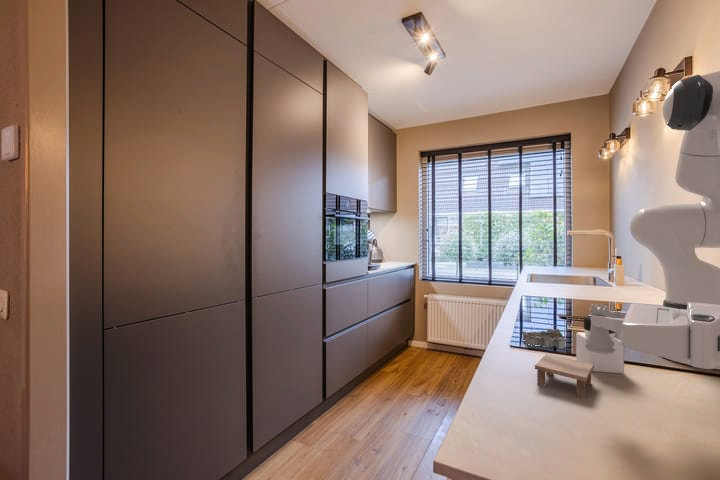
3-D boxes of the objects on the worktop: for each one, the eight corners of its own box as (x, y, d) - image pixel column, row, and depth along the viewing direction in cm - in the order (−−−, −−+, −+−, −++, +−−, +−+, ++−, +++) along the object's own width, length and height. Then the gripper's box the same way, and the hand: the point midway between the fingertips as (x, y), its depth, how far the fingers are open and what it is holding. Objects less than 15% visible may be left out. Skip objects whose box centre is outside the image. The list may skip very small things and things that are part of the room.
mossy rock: (560, 342, 98) (561, 328, 98) (568, 351, 91) (568, 336, 90) (521, 339, 101) (521, 325, 101) (525, 347, 94) (525, 332, 94)
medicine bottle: (624, 374, 75) (625, 320, 75) (589, 371, 76) (589, 319, 76) (607, 362, 82) (608, 313, 82) (575, 360, 83) (575, 312, 83)
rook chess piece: (621, 353, 58) (621, 307, 58) (601, 356, 57) (601, 309, 57) (597, 345, 62) (597, 302, 62) (578, 347, 61) (578, 304, 61)
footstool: (546, 371, 76) (546, 354, 76) (593, 383, 70) (593, 364, 70) (534, 384, 70) (534, 365, 70) (586, 398, 64) (586, 377, 64)
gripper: (698, 301, 58) (601, 292, 68) (710, 325, 43) (583, 310, 53) (697, 336, 58) (601, 323, 68) (709, 374, 43) (583, 349, 53)
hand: (593, 317), depth 60 cm, fingers closed on rook chess piece, 3 cm apart
